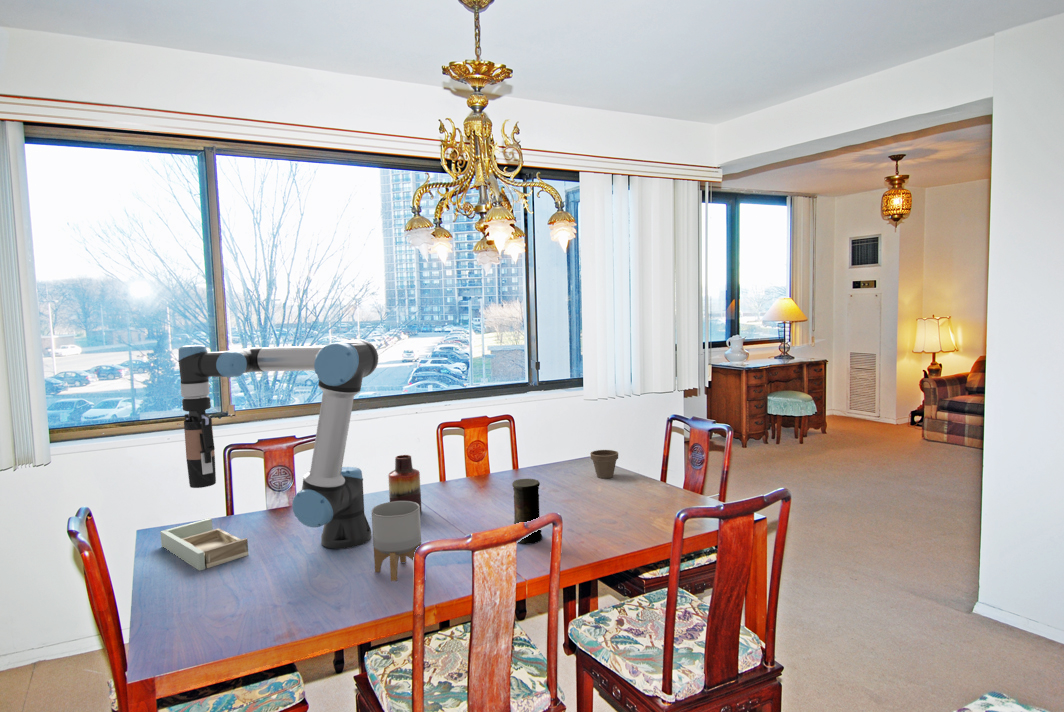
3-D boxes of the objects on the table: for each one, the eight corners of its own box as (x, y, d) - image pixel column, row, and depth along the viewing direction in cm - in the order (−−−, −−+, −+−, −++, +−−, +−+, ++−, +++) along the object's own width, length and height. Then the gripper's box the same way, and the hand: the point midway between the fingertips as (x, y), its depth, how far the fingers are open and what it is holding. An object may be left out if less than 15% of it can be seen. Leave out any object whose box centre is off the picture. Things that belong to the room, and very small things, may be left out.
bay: (251, 553, 194) (250, 537, 194) (199, 570, 183) (198, 553, 183) (211, 532, 213) (209, 518, 213) (161, 546, 202) (160, 531, 202)
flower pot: (591, 472, 272) (591, 449, 271) (618, 472, 270) (618, 449, 269) (590, 480, 260) (589, 455, 259) (618, 480, 259) (618, 456, 258)
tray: (248, 554, 194) (247, 538, 193) (207, 568, 185) (205, 551, 184) (219, 539, 207) (218, 524, 206) (179, 551, 198) (178, 535, 197)
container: (512, 534, 204) (510, 478, 202) (540, 532, 204) (538, 477, 203) (513, 545, 195) (511, 487, 193) (543, 543, 196) (541, 485, 194)
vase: (384, 517, 224) (381, 459, 222) (401, 507, 234) (398, 452, 232) (410, 520, 220) (407, 461, 218) (427, 510, 230) (424, 453, 228)
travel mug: (205, 488, 192) (199, 422, 190) (182, 487, 193) (177, 422, 192) (222, 481, 199) (217, 417, 198) (200, 480, 201) (195, 417, 199)
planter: (417, 580, 173) (414, 515, 171) (369, 581, 173) (365, 516, 171) (426, 560, 186) (423, 500, 184) (381, 561, 186) (378, 501, 184)
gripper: (223, 397, 190) (229, 473, 192) (195, 392, 204) (201, 463, 206) (196, 401, 184) (203, 479, 187) (169, 395, 198) (175, 468, 200)
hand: (201, 471), depth 196 cm, fingers closed on travel mug, 8 cm apart
